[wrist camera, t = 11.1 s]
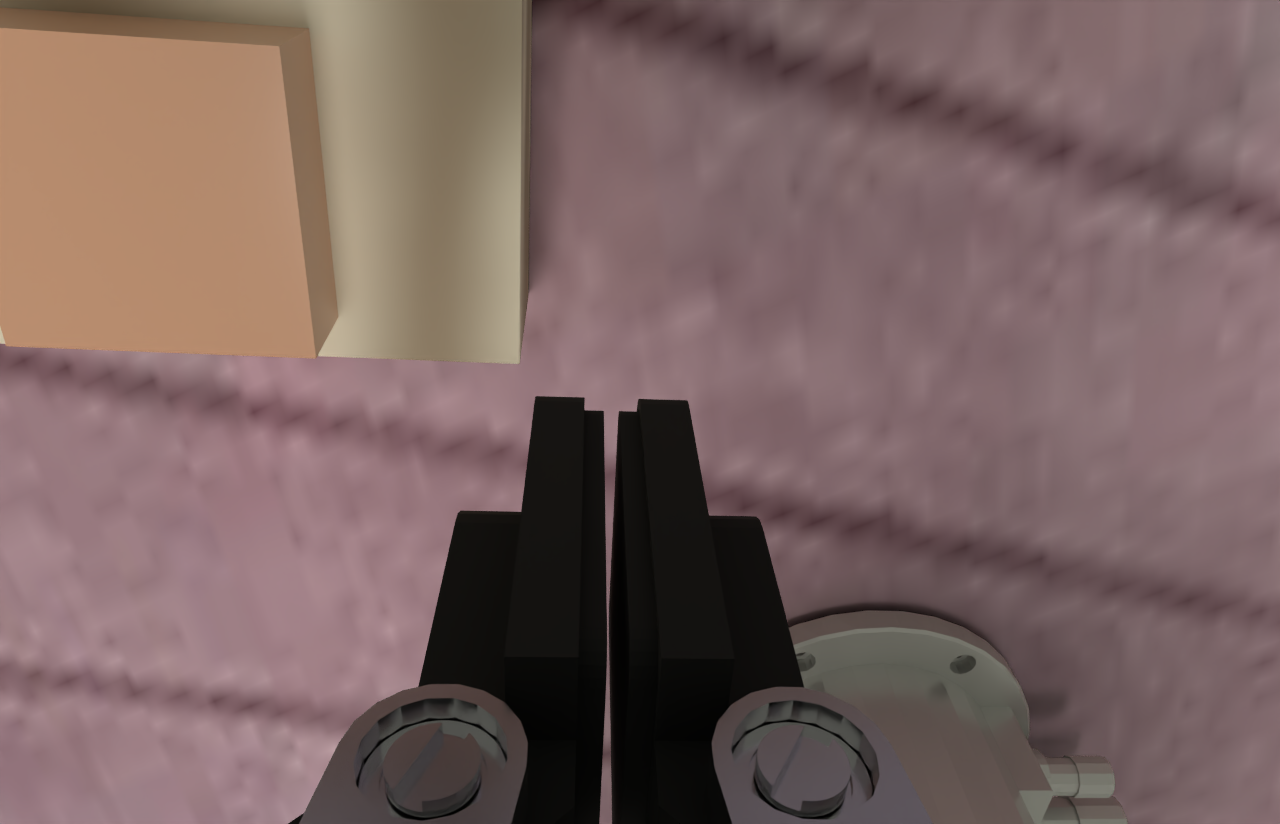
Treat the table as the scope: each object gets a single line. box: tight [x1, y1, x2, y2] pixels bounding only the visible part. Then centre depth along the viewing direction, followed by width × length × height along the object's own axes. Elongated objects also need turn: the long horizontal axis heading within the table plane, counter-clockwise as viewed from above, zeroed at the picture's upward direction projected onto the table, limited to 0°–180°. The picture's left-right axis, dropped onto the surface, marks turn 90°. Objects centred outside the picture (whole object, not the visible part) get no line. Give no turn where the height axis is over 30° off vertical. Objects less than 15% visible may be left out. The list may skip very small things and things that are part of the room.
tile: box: [0, 7, 338, 358], centre depth 18 cm, size 6×6×2 cm
